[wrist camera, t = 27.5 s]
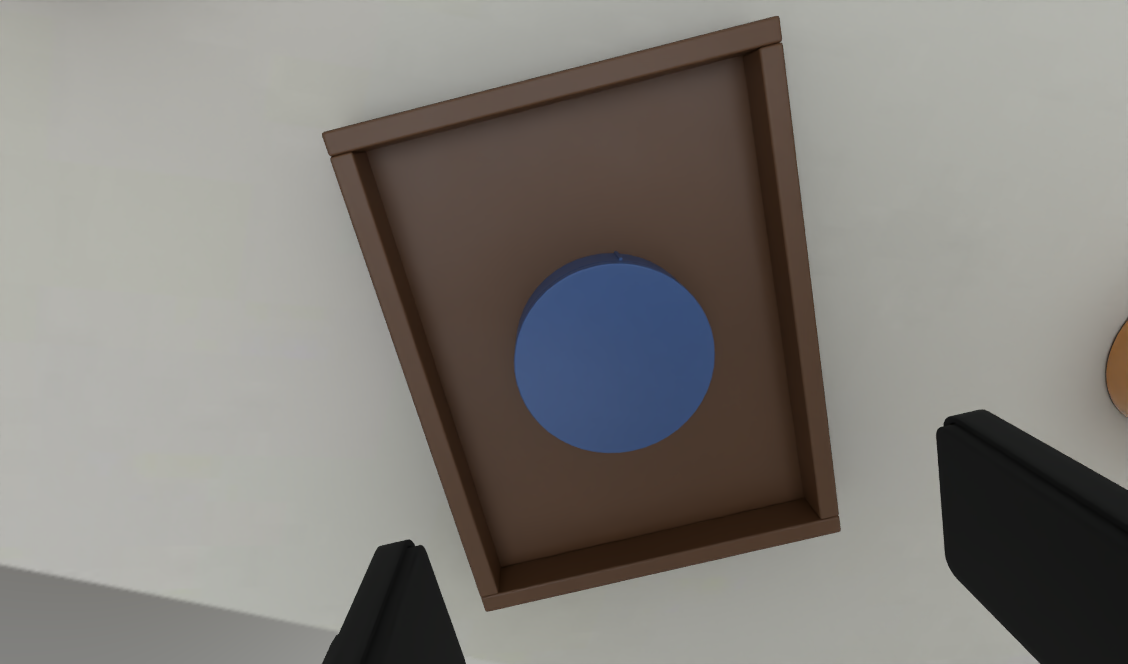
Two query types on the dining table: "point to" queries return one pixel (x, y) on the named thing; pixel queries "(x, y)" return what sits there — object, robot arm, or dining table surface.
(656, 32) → the dining table surface
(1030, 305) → the dining table surface
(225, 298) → the dining table surface
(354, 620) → the robot arm
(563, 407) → the lid
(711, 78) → the tray
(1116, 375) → the jar
